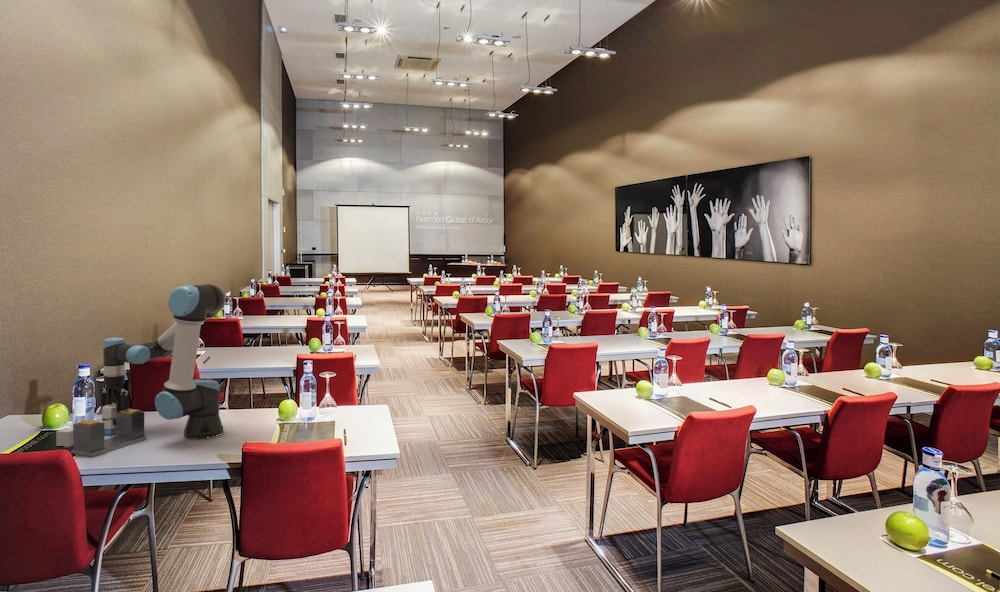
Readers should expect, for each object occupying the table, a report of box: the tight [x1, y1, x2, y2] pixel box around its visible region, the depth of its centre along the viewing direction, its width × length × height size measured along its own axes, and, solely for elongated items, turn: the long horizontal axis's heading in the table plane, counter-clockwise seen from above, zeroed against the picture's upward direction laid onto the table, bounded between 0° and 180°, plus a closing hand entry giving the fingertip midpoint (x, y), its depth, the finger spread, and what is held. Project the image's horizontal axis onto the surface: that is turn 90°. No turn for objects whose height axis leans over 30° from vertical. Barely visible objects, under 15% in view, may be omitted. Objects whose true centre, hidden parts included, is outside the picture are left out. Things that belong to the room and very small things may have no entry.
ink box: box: [101, 402, 118, 436], centre depth 258 cm, size 8×5×12 cm, turn 168°
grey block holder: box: [71, 408, 147, 458], centre depth 241 cm, size 10×24×12 cm, turn 163°
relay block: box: [55, 427, 73, 448], centre depth 241 cm, size 5×5×6 cm
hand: (114, 429), depth 259 cm, fingers closed on ink box, 5 cm apart
